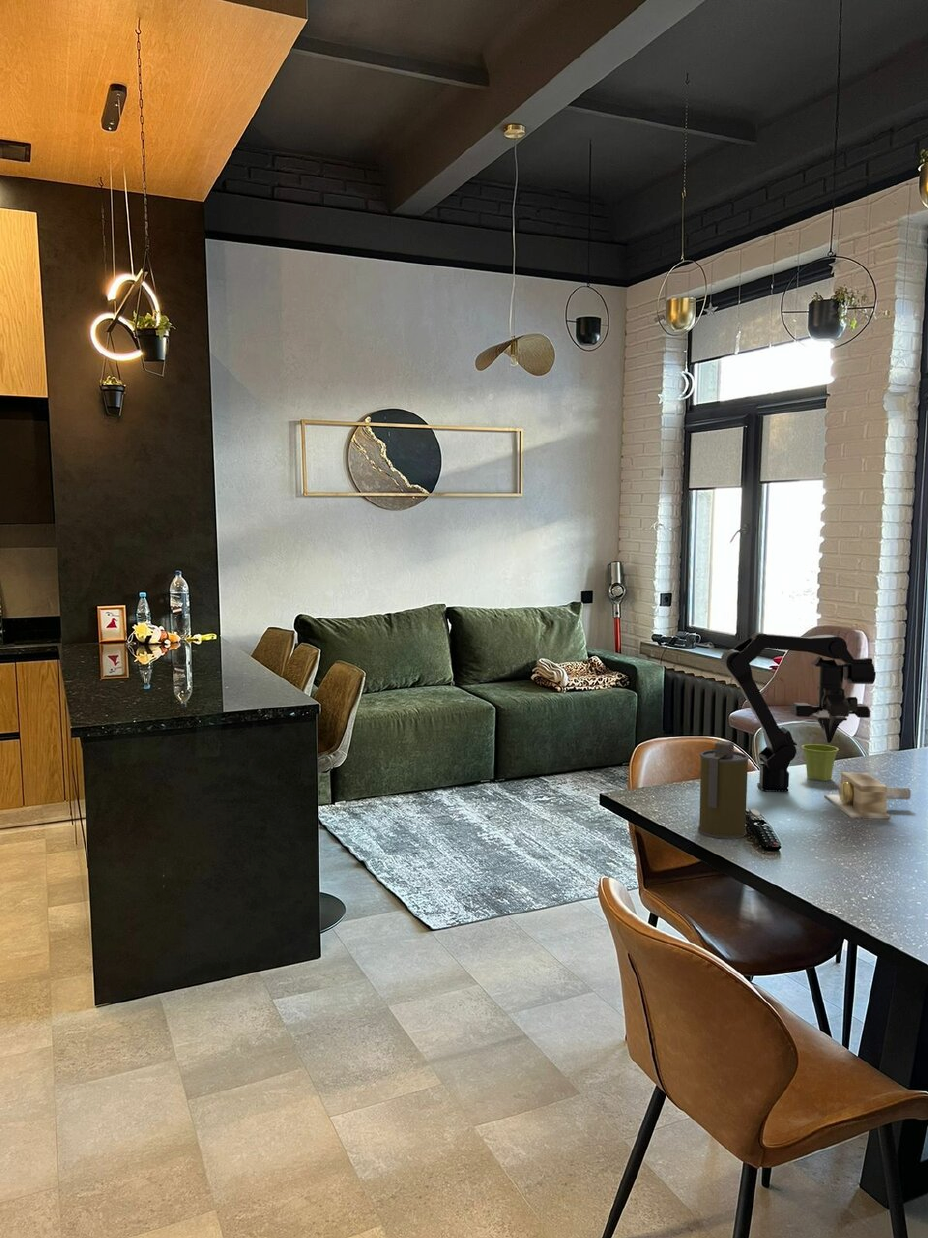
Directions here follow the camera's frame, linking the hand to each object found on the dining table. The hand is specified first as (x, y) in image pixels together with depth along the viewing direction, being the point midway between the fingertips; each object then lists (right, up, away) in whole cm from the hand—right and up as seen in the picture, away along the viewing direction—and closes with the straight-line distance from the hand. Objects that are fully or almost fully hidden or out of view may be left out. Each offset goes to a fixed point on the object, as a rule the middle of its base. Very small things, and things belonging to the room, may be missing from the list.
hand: (828, 742), depth 236 cm
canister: (-38, -15, -35) cm, 54 cm away
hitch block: (+1, -14, -15) cm, 20 cm away
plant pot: (+3, -12, +13) cm, 18 cm away
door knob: (+5, -13, -15) cm, 21 cm away
